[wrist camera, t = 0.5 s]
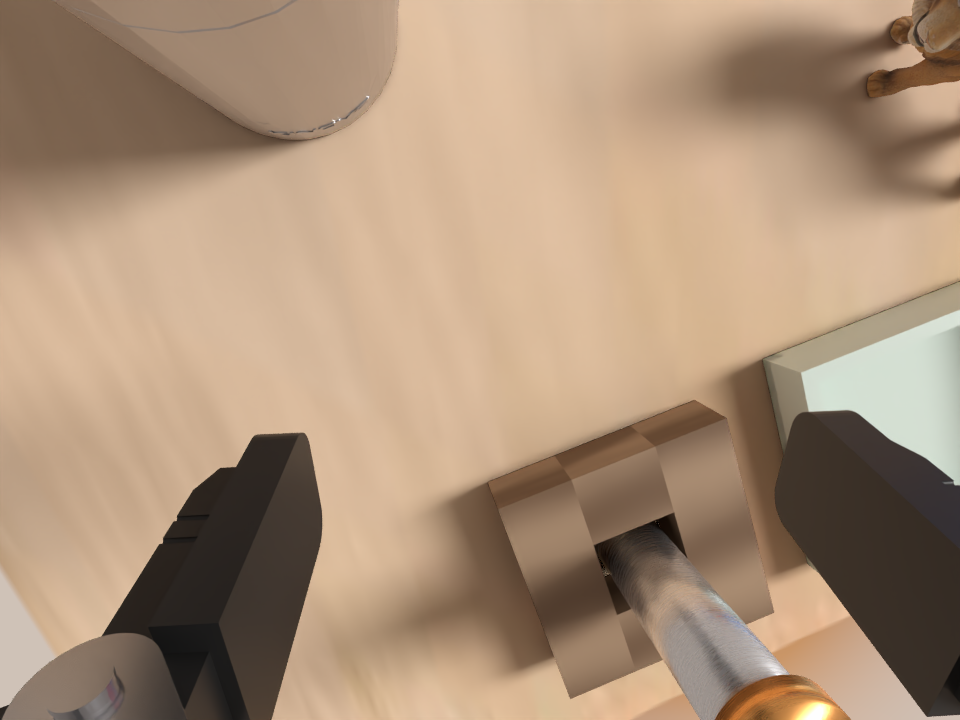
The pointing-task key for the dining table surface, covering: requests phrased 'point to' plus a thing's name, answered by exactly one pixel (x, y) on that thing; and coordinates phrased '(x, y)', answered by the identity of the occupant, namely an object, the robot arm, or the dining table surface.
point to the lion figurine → (924, 48)
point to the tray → (883, 377)
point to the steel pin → (706, 636)
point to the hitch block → (617, 509)
